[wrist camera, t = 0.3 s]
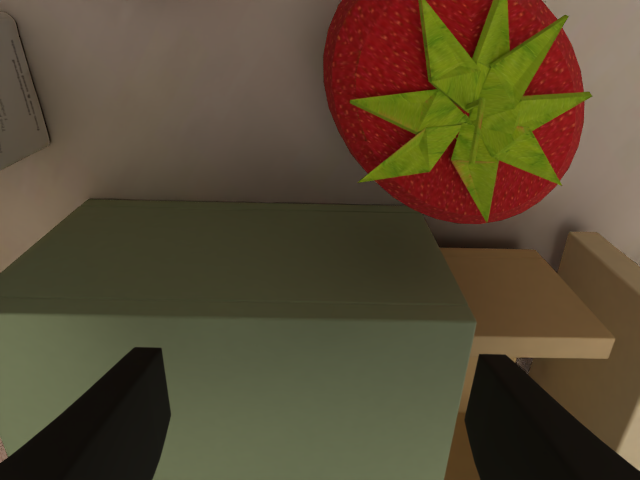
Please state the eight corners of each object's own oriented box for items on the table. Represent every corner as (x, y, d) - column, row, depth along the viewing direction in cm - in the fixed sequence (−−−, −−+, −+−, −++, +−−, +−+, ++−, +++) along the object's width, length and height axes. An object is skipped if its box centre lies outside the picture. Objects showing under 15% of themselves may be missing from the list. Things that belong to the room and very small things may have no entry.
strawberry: (416, 195, 20) (500, 356, 11) (283, 55, 17) (246, 110, 8) (539, 90, 18) (767, 178, 9) (409, -83, 15) (541, -207, 6)
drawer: (691, 233, 19) (846, 326, 14) (615, 419, 24) (707, 547, 18) (289, 225, 19) (278, 317, 13) (290, 415, 24) (281, 543, 18)
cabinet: (418, 205, 20) (478, 321, 12) (392, 411, 25) (423, 579, 18) (87, 198, 20) (-48, 312, 12) (130, 408, 25) (52, 576, 17)
